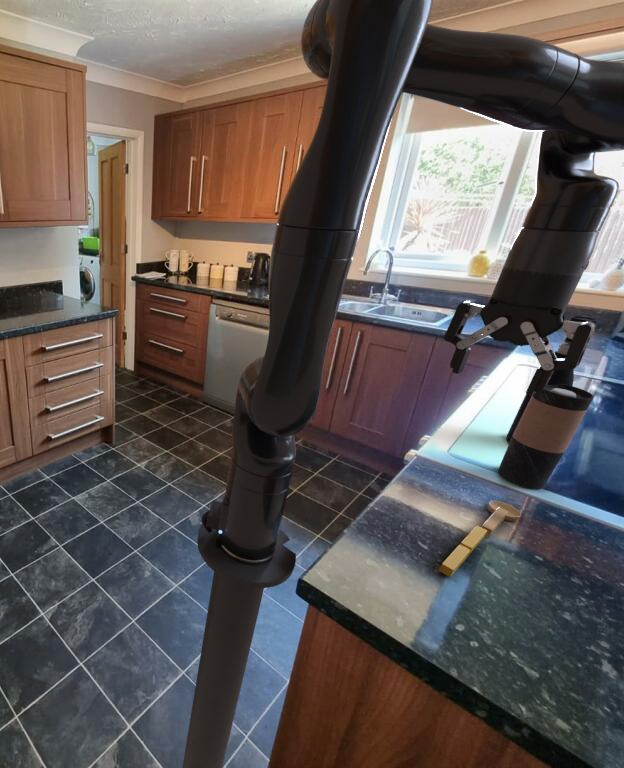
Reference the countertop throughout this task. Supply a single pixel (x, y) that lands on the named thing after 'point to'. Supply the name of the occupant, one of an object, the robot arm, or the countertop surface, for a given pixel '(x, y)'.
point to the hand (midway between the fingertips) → (492, 382)
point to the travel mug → (543, 435)
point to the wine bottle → (556, 378)
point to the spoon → (499, 515)
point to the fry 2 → (474, 538)
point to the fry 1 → (454, 560)
